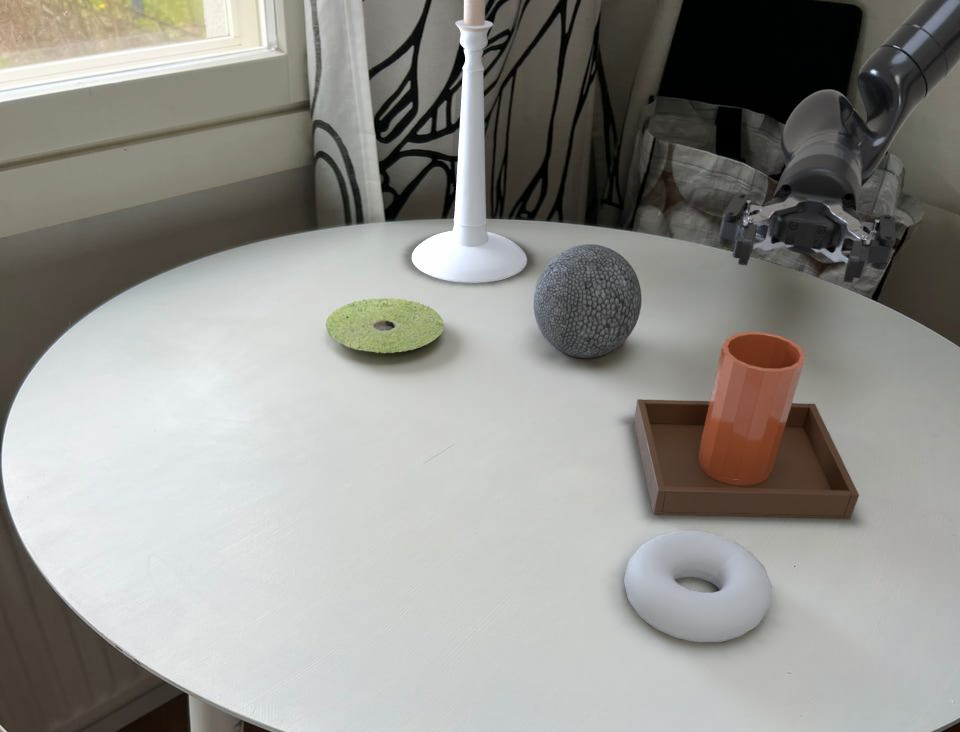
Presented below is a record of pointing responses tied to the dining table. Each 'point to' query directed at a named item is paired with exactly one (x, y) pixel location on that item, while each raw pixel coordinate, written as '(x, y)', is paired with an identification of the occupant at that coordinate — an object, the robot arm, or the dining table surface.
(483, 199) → the candlestick
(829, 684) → the dining table surface
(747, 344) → the cup
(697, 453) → the tray
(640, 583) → the donut
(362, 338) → the green disc
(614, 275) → the decorative ball
